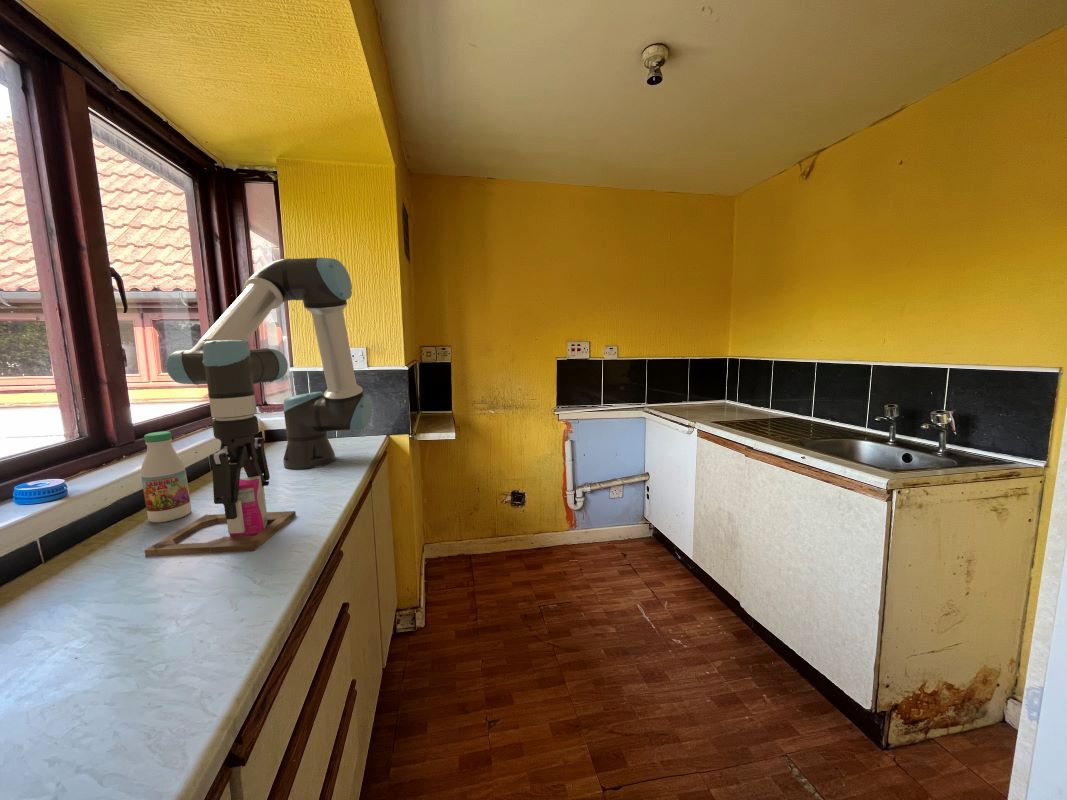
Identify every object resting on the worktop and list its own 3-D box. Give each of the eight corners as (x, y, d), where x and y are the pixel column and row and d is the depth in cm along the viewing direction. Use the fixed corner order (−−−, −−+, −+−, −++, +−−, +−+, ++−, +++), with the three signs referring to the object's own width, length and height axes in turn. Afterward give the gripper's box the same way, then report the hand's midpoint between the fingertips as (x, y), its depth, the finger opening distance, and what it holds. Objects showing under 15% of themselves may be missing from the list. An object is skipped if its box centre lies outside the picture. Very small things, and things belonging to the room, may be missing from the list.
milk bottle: (146, 517, 97) (132, 433, 94) (189, 507, 103) (177, 427, 100) (150, 526, 92) (135, 438, 89) (194, 515, 98) (182, 432, 95)
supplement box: (236, 530, 89) (229, 478, 88) (268, 525, 92) (262, 474, 90) (228, 541, 84) (221, 487, 82) (262, 536, 86) (256, 483, 85)
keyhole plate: (205, 519, 95) (205, 514, 95) (296, 515, 96) (295, 510, 96) (144, 556, 79) (143, 550, 79) (253, 551, 80) (252, 545, 80)
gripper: (246, 409, 94) (258, 505, 97) (176, 428, 74) (194, 548, 78) (280, 408, 94) (291, 504, 98) (220, 426, 75) (236, 546, 78)
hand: (248, 523), depth 88 cm, fingers closed on supplement box, 7 cm apart
